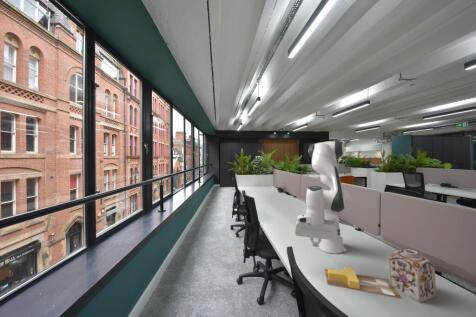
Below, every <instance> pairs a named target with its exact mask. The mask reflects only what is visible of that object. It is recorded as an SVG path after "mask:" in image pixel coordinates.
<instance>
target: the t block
mask: <svg viewBox="0 0 476 317" xmlns="http://www.w3.org/2000/svg"><path fill="white" fill-rule="evenodd" d="M327 270H328V277H329V279H332V280H337V281H343V282H348V285H349V288H355V289H360V287H359V280H358V278H357V276H356V274H357V273H356V272H355V270H354V268H351V267H345V266H344V267H343V270H340V269H333V268H327Z"/></svg>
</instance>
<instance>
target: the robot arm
mask: <svg viewBox="0 0 476 317" xmlns="http://www.w3.org/2000/svg"><path fill="white" fill-rule="evenodd" d="M345 151H346V148H345V145H344V143H343V142H342V141H340V140H333V141H331V140H330V141H323V142H321V141H320V142H317V143H312V144H310V145H309V146H308V151H307V152H308V155H309V158H311V167H312V169H313V171H314V172H316V173H317V174H319V175H320V176H319V177H320V179H319V180H320V182H321V183H322V184H324V185H325V186H328V187H329V188H330V189H323V187H321V186H318V185H312V186H308V187H307V188H306V195H305V205H306V210H305V213H303V214H299V215H297V217H296V222H295V227H294V235H295V236H297V237H304V238H309V239H310V241H311V243H312V247H315V248H316V249H319V250H320V251H323V252H325V253H328V254H334V255H335V254H341V253H345V252H347V251H348V250H347V248H346V247H345V246H344V238H343V236H341V227H340V217H339V215H338V214H337V213H340V212H342V211H343V210H345V208H349V207H350V206H351V205H352V202H353V199H352V196H351V194H350V193H349V192H348V191H346V190H345V189H344V188H343V187H342V185H341V184H342V183H341V178H340V174H339V170H338V169H339V167H338V161H337V160H339V159H340V158H341V157H342V156H344V153H345ZM314 239H317V241H314Z"/></svg>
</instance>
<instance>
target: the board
mask: <svg viewBox="0 0 476 317" xmlns="http://www.w3.org/2000/svg"><path fill="white" fill-rule="evenodd" d="M324 271H325V278H326V283H327V285H328V286H332V287H337V288H342V289H347V290H348V289H349V290H353V291H360V292H364V293H370V294H375V295H379V296H386V297H390V298H397V299H400V300H401V299H403V298H402V296H401V295H400V294H399V292H398V291H397V288H396V287H394V286H392V285H390V279H388V278H381V277H378V276H370V275H363V274H357V273H355V274H356V276H357V278H358V280H359V287H360V289H355V288H349V285H348V282H343V281H337V280H332V279H329V277H328V268H327V269H326V268H324Z"/></svg>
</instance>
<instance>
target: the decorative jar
mask: <svg viewBox="0 0 476 317" xmlns="http://www.w3.org/2000/svg"><path fill="white" fill-rule="evenodd" d="M435 267H436V266H435V265H434V263H432V261H431V260H429V259H428V258H427V257H426V256H424V255H421V254H419V252H418V251H416V250H413V249H408V248H407V249H406V248H405V249H404V250H401V249H400V250H395V251H393V253H392V254H391V255H390V256H389V258H388V273H389V274H388V276H389V281H390V285H392V286H393V287H394V288H395V289H398V290H399V291H401V292H403V293H405V294H407V295H409V297H410V298H412V300H413V301H415V302H417V303H419V304H420V303H423V302H425V301H428V300H431V299H433V298H436V296H437V295H436V294H437V292H436V291H437V289H436V286H437V284H436V270H435V269H436V268H435Z"/></svg>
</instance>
